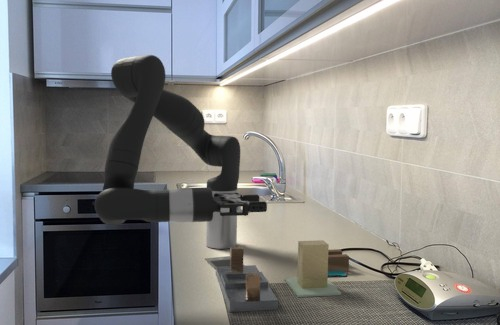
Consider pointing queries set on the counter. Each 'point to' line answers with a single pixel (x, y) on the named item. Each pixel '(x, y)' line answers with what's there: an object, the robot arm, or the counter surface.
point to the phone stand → (338, 261)
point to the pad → (312, 289)
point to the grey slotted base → (244, 285)
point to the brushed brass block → (312, 264)
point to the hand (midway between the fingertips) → (262, 202)
